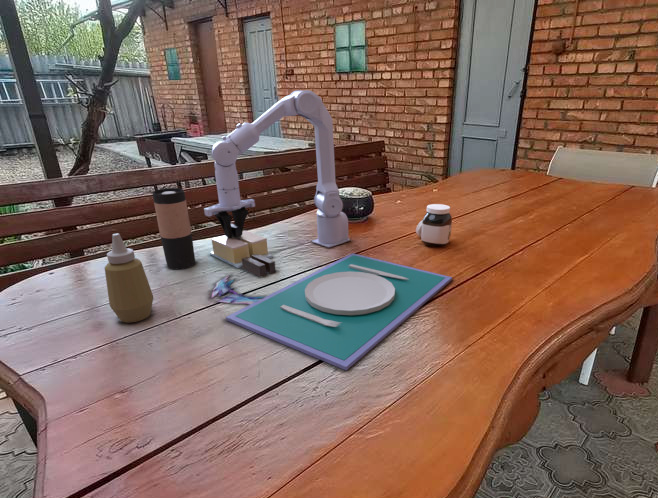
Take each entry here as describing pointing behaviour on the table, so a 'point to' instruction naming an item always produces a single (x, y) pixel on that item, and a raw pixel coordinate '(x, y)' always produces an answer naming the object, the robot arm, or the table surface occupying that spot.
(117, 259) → the squeeze bottle
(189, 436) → the table surface
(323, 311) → the place mat
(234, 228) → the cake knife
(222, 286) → the decorative blades
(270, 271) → the stand
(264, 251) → the cake
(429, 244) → the spread jar
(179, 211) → the travel mug
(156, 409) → the table surface
